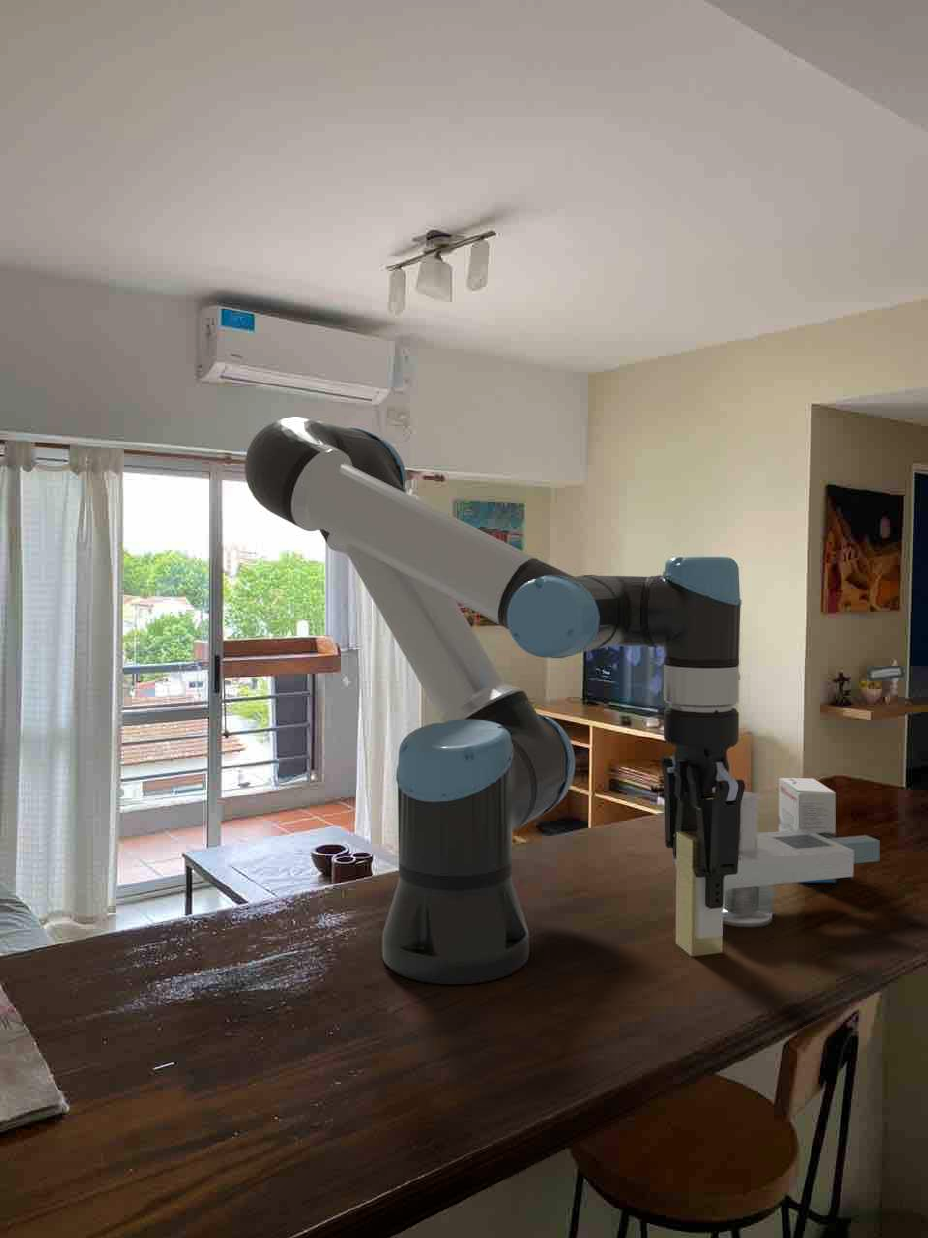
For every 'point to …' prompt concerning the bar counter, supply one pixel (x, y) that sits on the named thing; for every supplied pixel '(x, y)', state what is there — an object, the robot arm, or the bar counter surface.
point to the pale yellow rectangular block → (690, 897)
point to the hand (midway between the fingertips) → (698, 928)
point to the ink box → (807, 809)
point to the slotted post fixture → (783, 864)
